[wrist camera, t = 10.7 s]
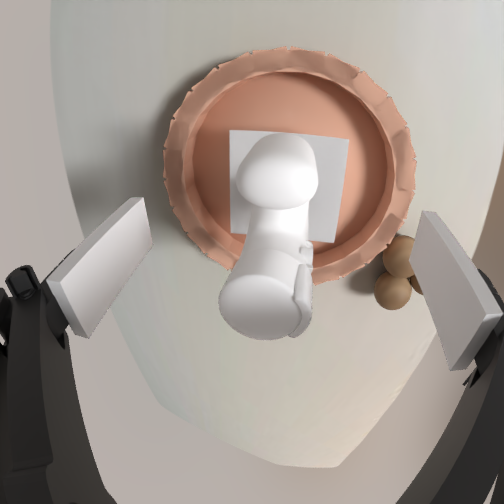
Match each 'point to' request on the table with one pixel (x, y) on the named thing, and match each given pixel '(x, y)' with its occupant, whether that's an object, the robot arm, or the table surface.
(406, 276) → the wooden beads
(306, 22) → the table surface
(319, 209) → the figurine
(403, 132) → the dish
